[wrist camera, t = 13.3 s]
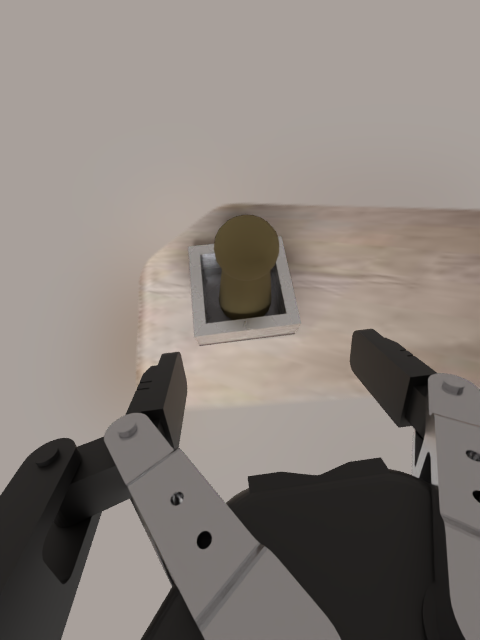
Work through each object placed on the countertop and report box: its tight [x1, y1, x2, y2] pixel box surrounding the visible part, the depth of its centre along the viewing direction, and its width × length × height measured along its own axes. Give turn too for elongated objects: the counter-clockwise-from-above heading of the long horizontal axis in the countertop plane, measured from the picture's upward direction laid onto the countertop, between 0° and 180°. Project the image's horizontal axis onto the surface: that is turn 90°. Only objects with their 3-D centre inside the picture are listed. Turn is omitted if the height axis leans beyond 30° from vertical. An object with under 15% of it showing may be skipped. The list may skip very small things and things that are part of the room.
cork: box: [214, 215, 279, 320], centre depth 24 cm, size 6×6×11 cm
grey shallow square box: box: [188, 236, 301, 346], centre depth 28 cm, size 10×10×3 cm
